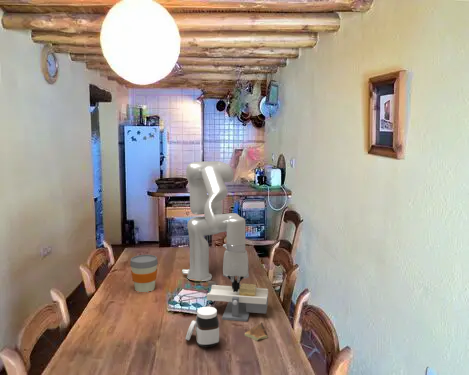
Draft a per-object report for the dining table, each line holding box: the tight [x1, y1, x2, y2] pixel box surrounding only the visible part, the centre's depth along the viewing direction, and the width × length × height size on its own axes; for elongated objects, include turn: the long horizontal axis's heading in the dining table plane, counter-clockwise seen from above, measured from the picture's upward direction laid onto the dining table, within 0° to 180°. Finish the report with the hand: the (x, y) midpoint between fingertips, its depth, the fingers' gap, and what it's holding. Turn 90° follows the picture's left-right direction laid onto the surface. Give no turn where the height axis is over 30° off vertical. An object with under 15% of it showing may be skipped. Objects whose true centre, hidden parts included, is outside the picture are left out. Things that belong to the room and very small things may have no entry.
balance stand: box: [221, 284, 251, 322], centre depth 162 cm, size 10×17×8 cm, turn 171°
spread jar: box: [185, 306, 220, 348], centre depth 138 cm, size 12×11×12 cm
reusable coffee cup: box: [130, 254, 158, 293], centre depth 185 cm, size 13×13×15 cm
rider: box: [239, 282, 257, 297], centre depth 161 cm, size 6×6×4 cm
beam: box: [206, 284, 269, 314], centre depth 162 cm, size 24×10×6 cm, turn 81°
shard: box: [244, 322, 269, 341], centre depth 145 cm, size 11×8×2 cm
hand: (235, 290), depth 162 cm, fingers closed
